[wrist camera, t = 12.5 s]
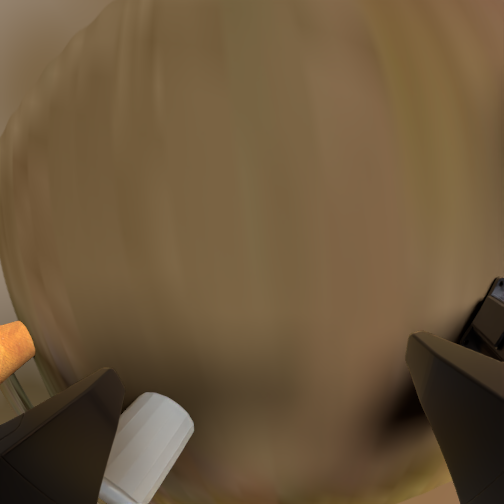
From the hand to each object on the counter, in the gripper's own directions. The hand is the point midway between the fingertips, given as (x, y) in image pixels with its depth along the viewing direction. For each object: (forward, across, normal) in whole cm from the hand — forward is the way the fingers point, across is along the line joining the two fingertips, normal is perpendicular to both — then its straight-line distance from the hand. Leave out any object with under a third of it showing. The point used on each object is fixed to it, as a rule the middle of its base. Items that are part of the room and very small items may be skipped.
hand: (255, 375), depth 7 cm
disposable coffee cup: (+18, +40, +10) cm, 45 cm away
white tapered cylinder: (+12, +13, +17) cm, 25 cm away
